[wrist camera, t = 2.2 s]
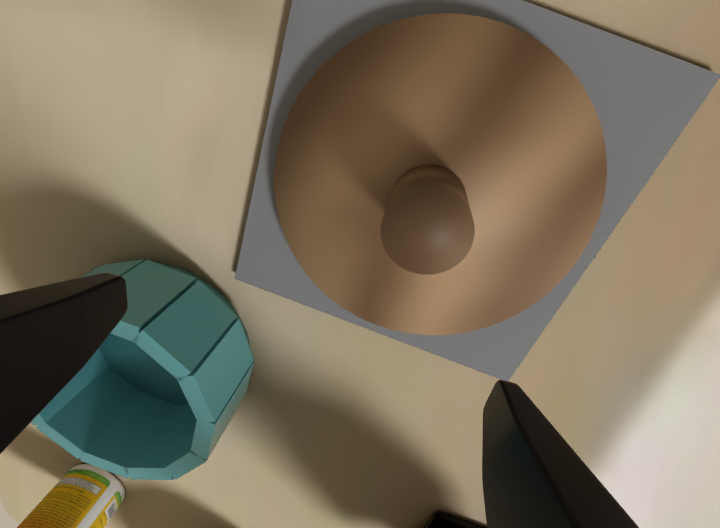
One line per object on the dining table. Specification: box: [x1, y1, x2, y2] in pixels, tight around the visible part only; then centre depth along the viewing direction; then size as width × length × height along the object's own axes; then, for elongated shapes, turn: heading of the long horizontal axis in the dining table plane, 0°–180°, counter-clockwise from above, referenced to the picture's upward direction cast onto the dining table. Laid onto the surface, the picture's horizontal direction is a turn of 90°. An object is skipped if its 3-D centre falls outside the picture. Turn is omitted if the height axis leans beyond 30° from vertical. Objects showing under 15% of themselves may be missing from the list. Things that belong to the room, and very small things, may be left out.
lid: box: [274, 13, 607, 335], centre depth 17 cm, size 15×15×5 cm
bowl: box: [31, 259, 254, 480], centre depth 24 cm, size 12×12×6 cm
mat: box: [235, 0, 720, 381], centre depth 19 cm, size 17×17×1 cm
